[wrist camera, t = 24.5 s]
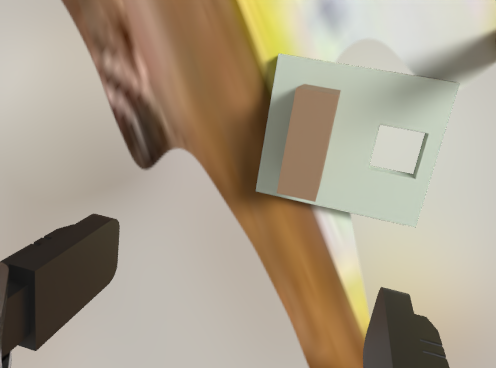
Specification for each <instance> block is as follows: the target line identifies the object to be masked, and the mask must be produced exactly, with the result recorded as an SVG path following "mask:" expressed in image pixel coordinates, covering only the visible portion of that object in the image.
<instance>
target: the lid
mask: <svg viewBox="0 0 496 368" xmlns="http://www.w3.org/2000/svg"><path fill="white" fill-rule="evenodd" d="M459 84H460V83H456V82H450V81H444V80H438V79H432V78H426V77H420V76H414V75H408V74H401V73H396V72H389V71H383V70H377V69H371V68H365V67H359V66H353V65H347V64H341V63H335V62H328V61H322V60H316V59H310V58H304V57H298V56H292V55H286V54H278V60H277V66H276V72H275V78H274V84H273V90H272V96H271V102H270V108H269V114H268V120H267V126H266V132H265V138H264V144H263V150H262V156H261V162H260V167H259V173H258V179H257V185H256V191H257V192H261V193H266V194H270V195H274V196H279V197H283V198H288V199H292V200H296V201H301V202H305V203H310V204H314V205H318V206H323V207H327V208H332V209H336V210H340V211H345V212H349V213H354V214H358V215H362V216H367V217H371V218H376V219H380V220H384V221H389V222H393V223H398V224H402V225H407V226H411V227H416V225H417V221H418V218H419V215H420V211H421V208H422V205H423V202H424V199H425V195H426V192H427V189H428V185H429V182H430V179H431V176H432V172H433V169H434V166H435V163H436V159H437V156H438V153H439V149H440V146H441V143H442V139H443V136H444V133H445V130H446V126H447V123H448V120H449V117H450V114H451V110H452V107H453V104H454V100H455V97H456V94H457V91H458V87H459ZM380 125H386V126H391V127H396V128H402V129H407V130H412V131H418V132H423V133H425V136H424V139H423V143H422V146H421V150H420V153H419V156H418V160H417V163H416V167H415V170H414V174H409V173H404V172H399V171H395V170H390V169H385V168H380V167H375V166H370V161H371V157H372V153H373V149H374V145H375V142H376V137H377V134H378V130H379V126H380Z"/></svg>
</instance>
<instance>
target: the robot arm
mask: <svg viewBox="0 0 496 368" xmlns="http://www.w3.org/2000/svg"><path fill="white" fill-rule="evenodd" d="M118 245H119V222H118V220H117V219H113V218H109V217H105V216H102V215H98V214H92V215H90V216H88V217H87V218H85V219H83V220H81V221H80V222H78V223H76V224H75V225H70V226H66V227H63V228H59V229H56V230H54V231H53V232H51V233H49V234H48V235H46V236H44V238H40V239H39V240H37V241H35V242H34V244H30V245H28V246H27V247H25V248H23V249H21V250H20V251H18V252H16V253H14V254H13V255H11V256H9V257H8V258H6V259H4V260H2V261H1V262H0V368H11V361H12V359H11V350H12V349H14V347H16V346H17V345H19V346H22V347H25V348H28V349H31V350H34V351H36V350H37V349H39V348H40V347H41V346H42V345H43V344H44V343H45V342H46V341H47V340H48V339H49V338H51V337H52V336H53V335H54V334H55V333H56V332H57V331H58V330H59V329H60V328H61V327H63V326H64V325H65V324H66V323H67V322H68V321H69V320H70V319H71V318H72V317H73V316H74V315H76V314H77V313H78V312H79V311H80V310H81V309H82V308H83V307H84V306H85V305H86V304H87V303H89V302H90V301H91V300H92V299H93V298H94V297H95V296H96V295H97V294H98V293H99V292H101V291H102V289H104V288H105V287H106V286H107V285H108V284H109V283H110V281H111V280H112V279H113V277H114V275H115V272H116V269H117V261H118ZM363 368H449V365H448V362H447V360H446V355H445V352H444V349H443V347H442V342H441V339H440V336H439V333H438V330H437V329H436V328H435V327H434V326H433V324H432V323H431V322H430V321H429V320H428V319H427V317H424V316H420V315H416V314H414V312H413V307H412V303H411V299H410V295H409V294H406V293H403V292H399V291H395V290H391V289H387V288H383V287H381V288H380V290H379V293H378V296H377V299H376V303H375V306H374V309H373V313H372V316H371V320H370V323H369V327H368V330H367V334H366V338H365V343H364V350H363Z"/></svg>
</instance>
